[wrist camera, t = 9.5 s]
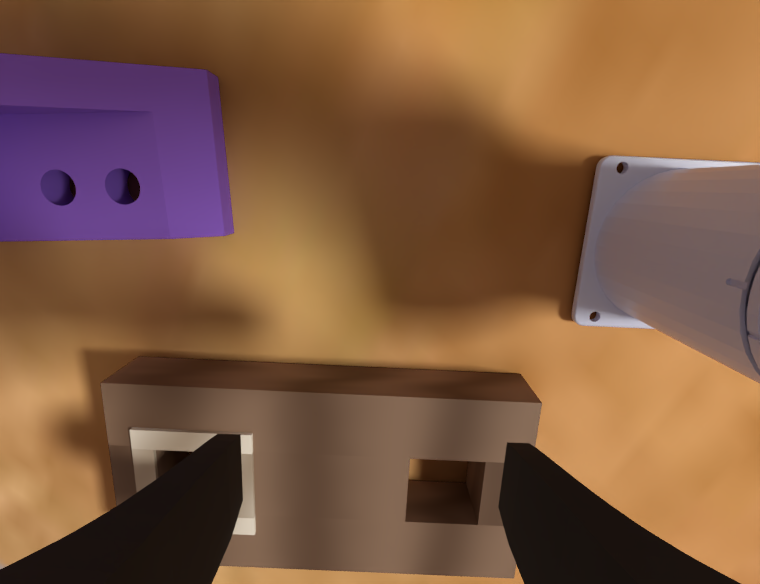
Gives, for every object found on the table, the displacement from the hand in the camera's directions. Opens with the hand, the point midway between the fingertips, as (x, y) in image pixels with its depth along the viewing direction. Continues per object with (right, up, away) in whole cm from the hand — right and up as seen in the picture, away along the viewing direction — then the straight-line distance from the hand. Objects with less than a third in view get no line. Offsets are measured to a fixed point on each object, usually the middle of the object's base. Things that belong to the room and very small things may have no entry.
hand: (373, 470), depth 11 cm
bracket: (-13, +11, +9) cm, 19 cm away
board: (-3, -4, +12) cm, 13 cm away
